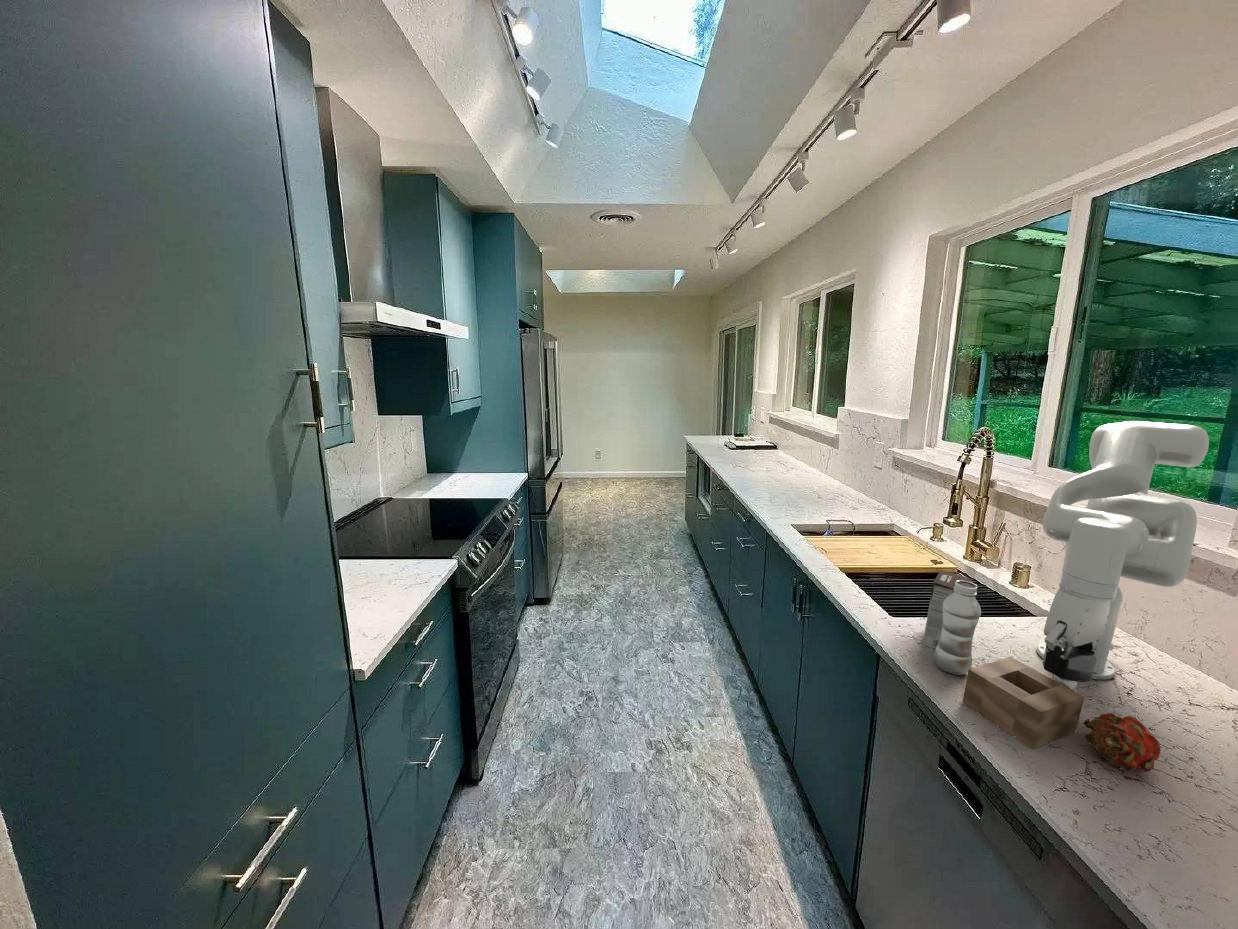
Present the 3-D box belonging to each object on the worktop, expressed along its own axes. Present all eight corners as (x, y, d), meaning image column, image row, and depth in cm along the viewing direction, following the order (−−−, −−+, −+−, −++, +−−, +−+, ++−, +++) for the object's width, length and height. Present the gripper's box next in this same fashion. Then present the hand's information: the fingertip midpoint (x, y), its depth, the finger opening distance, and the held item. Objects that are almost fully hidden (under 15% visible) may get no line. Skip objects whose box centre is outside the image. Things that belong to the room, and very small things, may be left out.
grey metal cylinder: (1049, 686, 97) (1060, 638, 94) (1092, 709, 90) (1105, 659, 88) (1026, 694, 94) (1037, 645, 92) (1069, 718, 88) (1082, 666, 86)
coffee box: (930, 629, 117) (940, 569, 114) (961, 640, 113) (973, 578, 109) (921, 644, 111) (931, 581, 107) (954, 656, 106) (966, 591, 103)
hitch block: (1003, 689, 96) (1010, 656, 94) (1075, 732, 85) (1084, 696, 83) (962, 702, 92) (968, 669, 90) (1032, 749, 81) (1041, 712, 79)
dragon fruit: (1108, 788, 75) (1105, 755, 84) (1182, 786, 70) (1170, 751, 79) (1075, 731, 78) (1075, 705, 87) (1143, 725, 73) (1136, 698, 81)
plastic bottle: (976, 681, 98) (993, 593, 94) (940, 676, 99) (955, 589, 95) (960, 662, 104) (976, 579, 100) (927, 658, 106) (941, 575, 101)
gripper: (1090, 570, 93) (1070, 650, 97) (1033, 582, 88) (1015, 667, 91) (1141, 587, 87) (1118, 672, 90) (1083, 601, 81) (1061, 692, 85)
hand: (1066, 669), depth 91 cm, fingers closed on grey metal cylinder, 7 cm apart
